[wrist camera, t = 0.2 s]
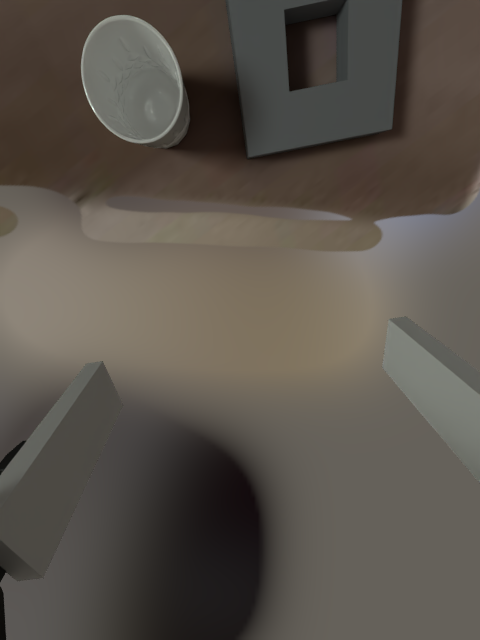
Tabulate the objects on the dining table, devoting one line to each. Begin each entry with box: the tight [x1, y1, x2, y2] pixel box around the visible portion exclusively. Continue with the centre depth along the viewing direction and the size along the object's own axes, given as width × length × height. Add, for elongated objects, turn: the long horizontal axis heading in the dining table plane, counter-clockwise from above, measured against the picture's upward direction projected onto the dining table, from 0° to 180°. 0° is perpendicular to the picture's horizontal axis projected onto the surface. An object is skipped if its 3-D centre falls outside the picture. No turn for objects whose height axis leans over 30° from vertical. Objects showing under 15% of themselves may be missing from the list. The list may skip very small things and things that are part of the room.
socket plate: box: [226, 0, 402, 159], centre depth 27 cm, size 16×16×4 cm
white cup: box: [81, 15, 190, 149], centre depth 26 cm, size 8×8×10 cm
